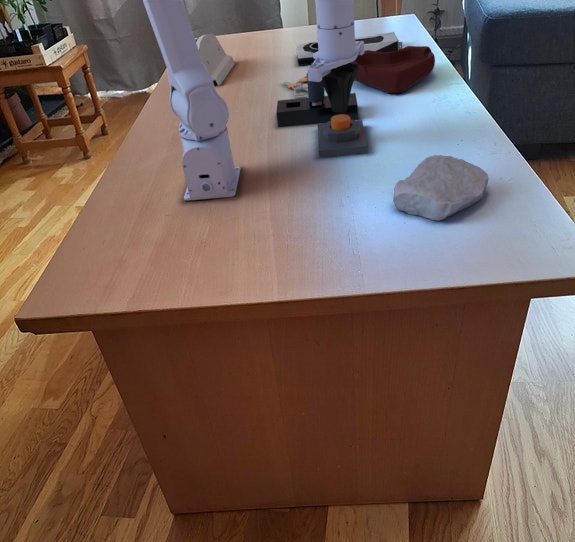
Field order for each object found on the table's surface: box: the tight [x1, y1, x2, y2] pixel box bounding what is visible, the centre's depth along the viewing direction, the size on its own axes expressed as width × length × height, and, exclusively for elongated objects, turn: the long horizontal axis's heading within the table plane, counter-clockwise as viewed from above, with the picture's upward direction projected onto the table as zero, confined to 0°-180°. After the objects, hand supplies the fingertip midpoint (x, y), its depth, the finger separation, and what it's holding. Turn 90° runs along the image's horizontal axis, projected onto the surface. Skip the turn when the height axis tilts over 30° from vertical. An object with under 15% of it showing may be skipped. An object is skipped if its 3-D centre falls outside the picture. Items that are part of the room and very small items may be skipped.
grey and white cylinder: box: [306, 72, 326, 106], centre depth 102 cm, size 3×3×8 cm
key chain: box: [283, 75, 308, 97], centre depth 119 cm, size 13×7×1 cm, turn 9°
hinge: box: [195, 33, 236, 87], centre depth 131 cm, size 17×5×10 cm, turn 172°
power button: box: [331, 114, 350, 131], centre depth 93 cm, size 3×3×2 cm
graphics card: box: [295, 31, 403, 67], centre depth 133 cm, size 10×3×25 cm
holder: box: [275, 92, 359, 128], centre depth 104 cm, size 6×15×3 cm, turn 88°
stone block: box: [392, 154, 489, 222], centre depth 76 cm, size 12×5×10 cm
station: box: [317, 119, 369, 159], centre depth 94 cm, size 11×8×3 cm
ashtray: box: [350, 45, 436, 95], centre depth 114 cm, size 18×16×5 cm
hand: (339, 110), depth 92 cm, fingers closed
